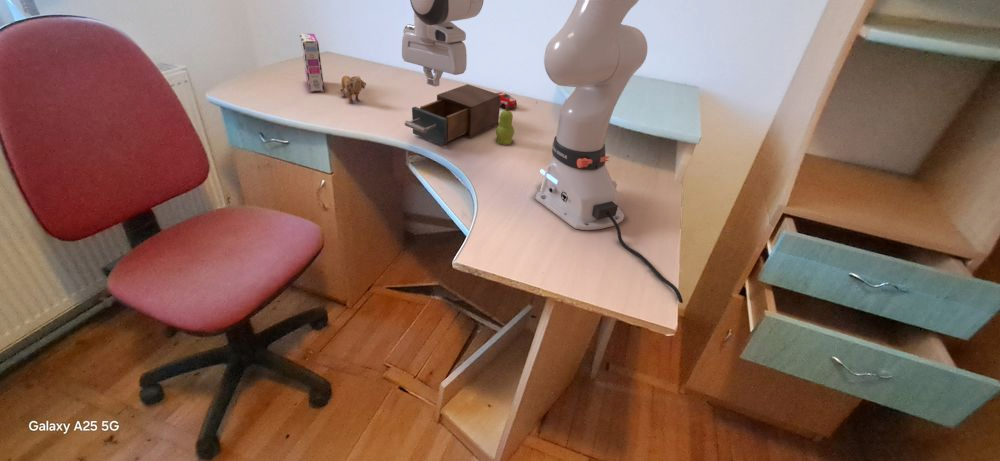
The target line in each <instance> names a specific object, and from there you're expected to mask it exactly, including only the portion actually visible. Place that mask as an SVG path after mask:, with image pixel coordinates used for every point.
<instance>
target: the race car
mask: <svg viewBox="0 0 1000 461" xmlns="http://www.w3.org/2000/svg"><path fill="white" fill-rule="evenodd" d="M495 93H496V94H499V95H501V97H500V98H501V99H500V109H502V110H506V107H508V110H512V109H514V108H516V107H517V106H518V105H517V104H518V103H517V99H516V98H514V97H513V96H511V95H510V94H507V93H506V92H495Z"/></svg>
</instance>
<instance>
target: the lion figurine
mask: <svg viewBox="0 0 1000 461" xmlns="http://www.w3.org/2000/svg"><path fill="white" fill-rule="evenodd" d="M366 85H367V82H365V81H363V80H362V79H361V76H360V75H354V76H349V75H343V76H342V77H341V89H340V92H342V94H341V97H342V98H346V91H347V96H348V100H349V102H348V103H349V104H351V105H353V104H354V100H355V102H357V103H359V102H361V100H360V99H359V94H360V92H362V90H364V89H366ZM353 96H354V100H353Z"/></svg>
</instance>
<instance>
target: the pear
mask: <svg viewBox="0 0 1000 461" xmlns="http://www.w3.org/2000/svg"><path fill="white" fill-rule="evenodd" d="M513 118H514V114H513V112H512V111H511V110H510V109H508V107H506V108H505V109H503V111H501V112H500V114H499V124H498V125H497V127H496V128H495V136H496V139H495V140H496V143H497V144H499V145H502V146H509V145H511V144H513V143H512V142H513V138H514V136H515V129H514V127H513V120H514V119H513Z"/></svg>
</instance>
